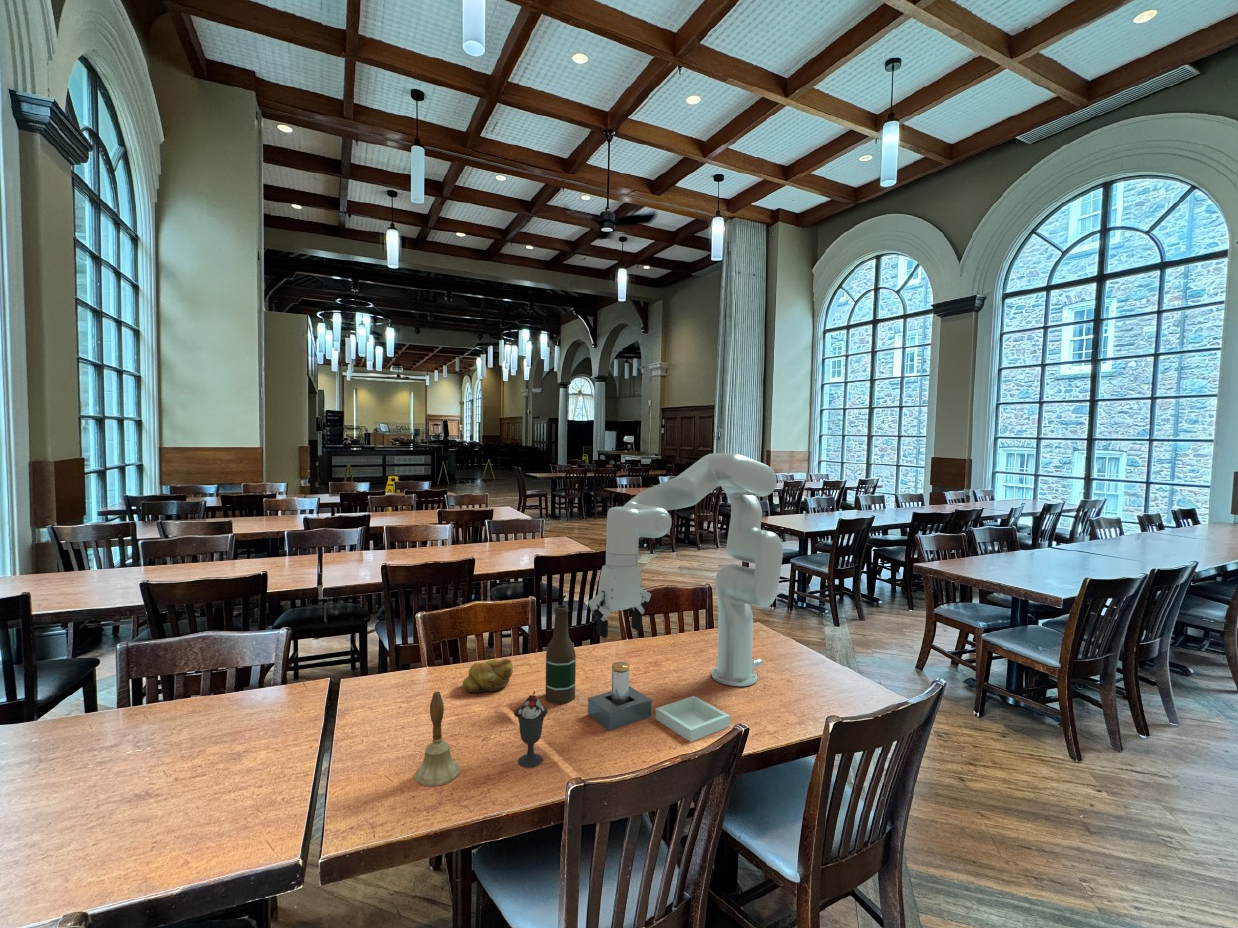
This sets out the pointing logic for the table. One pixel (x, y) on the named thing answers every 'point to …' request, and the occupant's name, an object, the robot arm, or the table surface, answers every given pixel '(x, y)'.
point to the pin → (620, 683)
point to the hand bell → (437, 752)
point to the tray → (692, 718)
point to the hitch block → (619, 709)
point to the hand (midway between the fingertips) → (619, 632)
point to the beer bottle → (560, 661)
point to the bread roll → (488, 676)
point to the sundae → (530, 728)
